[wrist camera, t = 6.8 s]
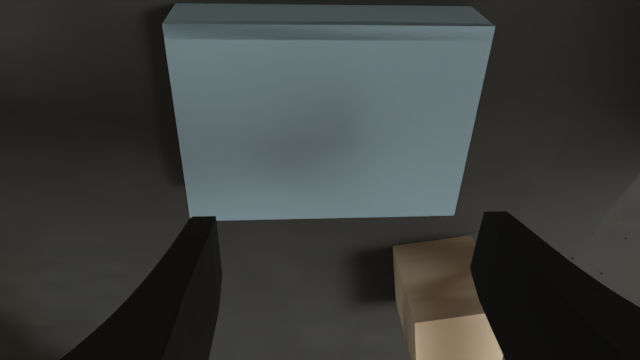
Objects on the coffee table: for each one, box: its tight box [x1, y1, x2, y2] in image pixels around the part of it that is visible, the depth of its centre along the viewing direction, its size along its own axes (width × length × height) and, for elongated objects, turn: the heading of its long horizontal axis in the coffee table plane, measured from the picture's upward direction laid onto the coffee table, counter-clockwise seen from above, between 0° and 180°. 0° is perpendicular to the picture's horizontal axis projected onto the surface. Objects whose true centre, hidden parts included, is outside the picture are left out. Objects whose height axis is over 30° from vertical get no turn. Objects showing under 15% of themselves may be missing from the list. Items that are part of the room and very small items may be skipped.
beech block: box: [393, 235, 503, 360], centre depth 25 cm, size 4×4×5 cm
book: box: [162, 3, 495, 221], centre depth 20 cm, size 11×8×3 cm
